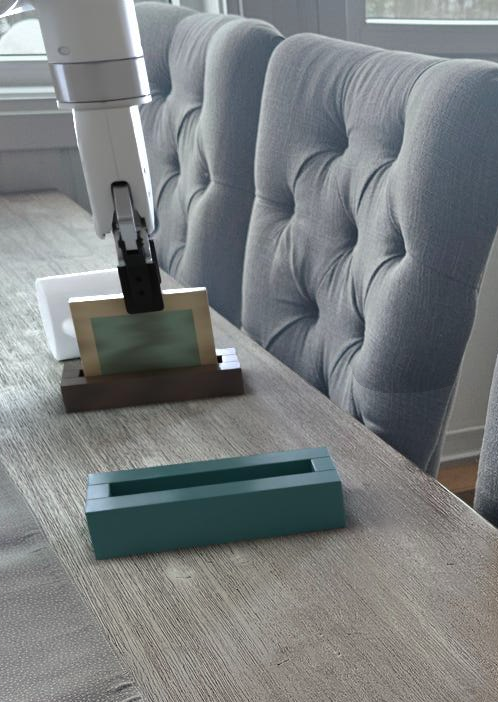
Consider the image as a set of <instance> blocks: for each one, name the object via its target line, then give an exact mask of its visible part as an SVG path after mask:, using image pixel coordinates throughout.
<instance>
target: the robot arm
mask: <svg viewBox="0 0 498 702" xmlns="http://www.w3.org/2000/svg"><path fill="white" fill-rule="evenodd" d="M29 11H36V15H37V19H38V24H39V28H40V32H41V38H42V42H43V46H44V51H45V54H46V58H47V59H46V60H47V63H48V68H49V72H50V77H51V81H52V85H53V90H54V94H55V100H56V103H57V109H58V110H62V111H72V116H73V123H74V130H75V136H76V143H77V147H78V153H79V158H80V162H81V168H82V173H83V176H84V181H85V186H86V190H87V195H88V200H89V204H90V205H89V206H90V210H91V214H92V215H91V216H92V220H93V224H94V230H95V235H96V237H97V238H98V239H100V240H106V237H107V236H106V235H109V234H111V232H112V236H113V241H114V246H115V251H116V252H115V253H116V257H117V263H118V265H116V269H117V270H118V274H119V279H120V284H121V288H122V293H123V298H124V302H125V307H126V311H127V313H129V314H139V313H148V312H157V311H162V310H163V309H164V302H163V297H162V292H161V291H162V287H161V284H162V276H161V271H160V266H159V260H158V256H157V250H156V245H155V240H154V238H151V234H152V233H153V232H154V231H155V211H154V210H155V209H154V196H153V188H152V187H153V186H152V179H151V172H150V165H149V159H148V154H147V153H148V152H147V149H146V147H147V146H146V143H145V137H144V131H143V125H142V120H141V114H140V110H139V106H141V105H145V104H148V103H152V101H153V99H152V94H151V88H150V83H149V78H148V77H149V76H148V72H147V66H146V61H145V57H144V51H143V46H142V39H141V35H140V29H139V23H138V18H137V13H136V9H135V2H134V0H0V18H2V17H6V16H10V15H14V14H19V13H23V12H24V13H25V12H29Z"/></svg>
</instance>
